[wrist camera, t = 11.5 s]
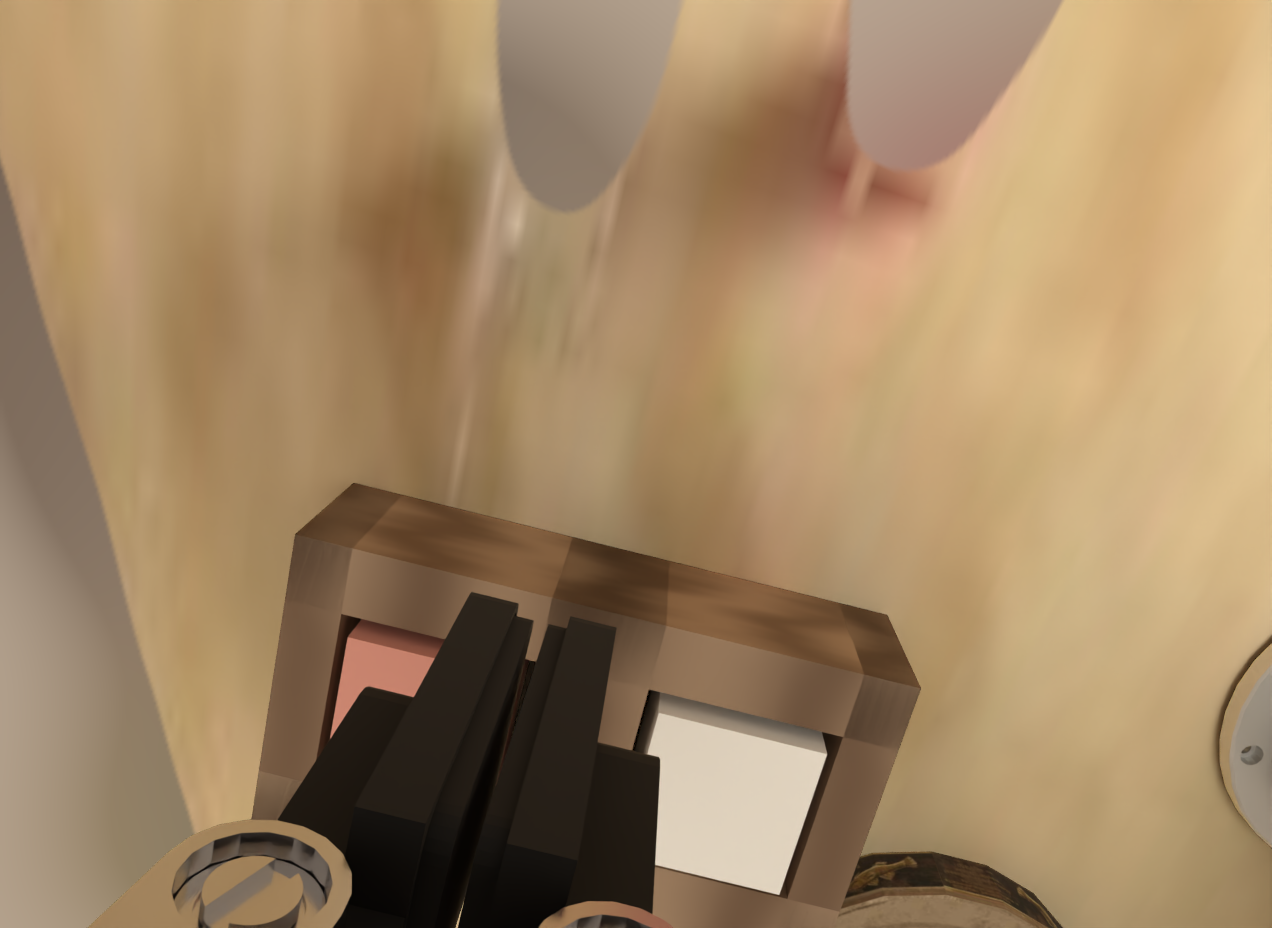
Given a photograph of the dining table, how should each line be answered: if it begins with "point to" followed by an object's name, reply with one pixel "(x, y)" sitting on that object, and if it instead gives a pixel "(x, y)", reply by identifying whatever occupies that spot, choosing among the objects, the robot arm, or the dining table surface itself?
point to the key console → (641, 661)
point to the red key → (391, 666)
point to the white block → (729, 789)
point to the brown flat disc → (936, 895)
